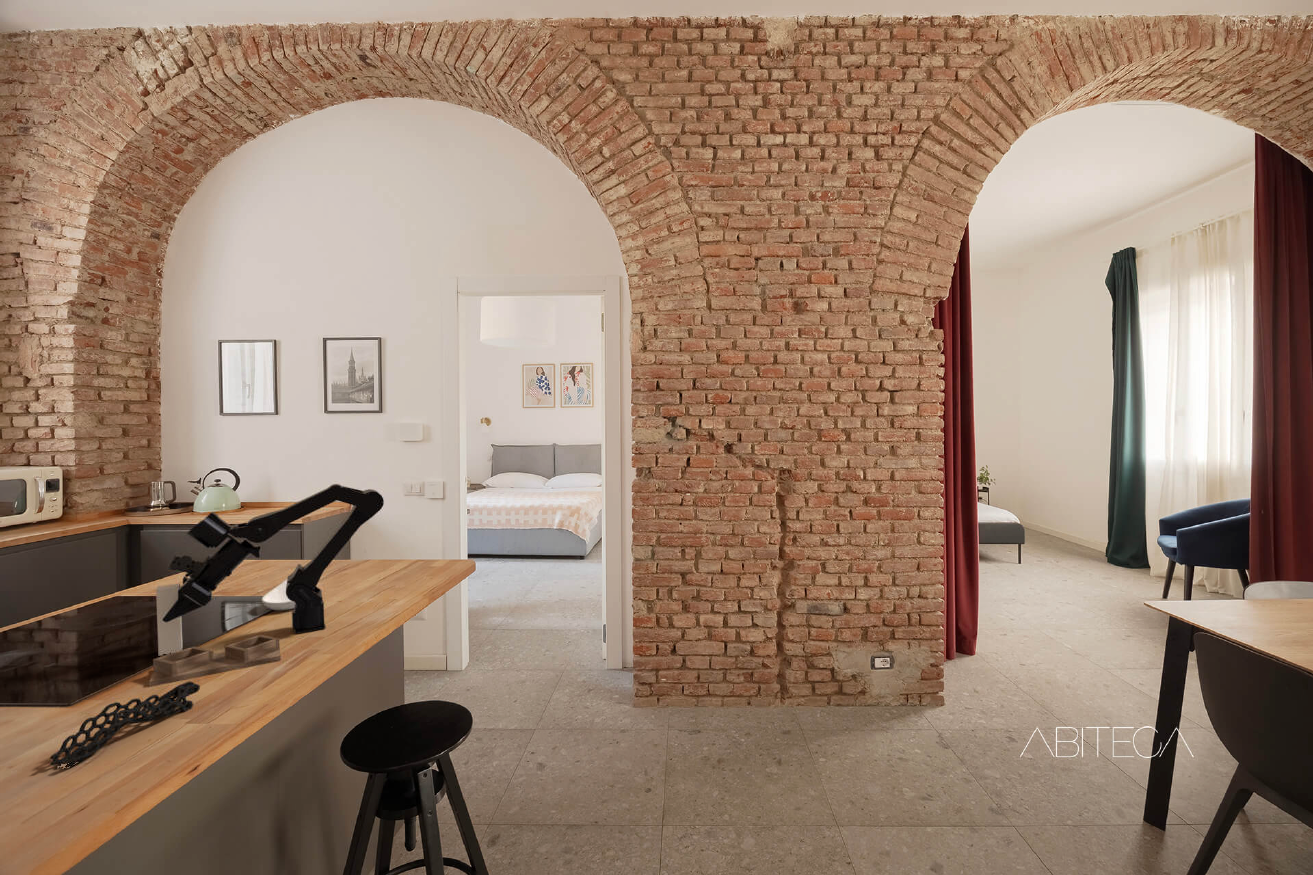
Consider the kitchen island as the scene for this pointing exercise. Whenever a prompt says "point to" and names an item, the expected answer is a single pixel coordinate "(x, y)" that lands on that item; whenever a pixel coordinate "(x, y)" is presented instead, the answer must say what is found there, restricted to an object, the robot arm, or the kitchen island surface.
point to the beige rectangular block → (173, 629)
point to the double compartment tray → (214, 659)
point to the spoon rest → (278, 598)
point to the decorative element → (124, 721)
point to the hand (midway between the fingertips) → (166, 615)
